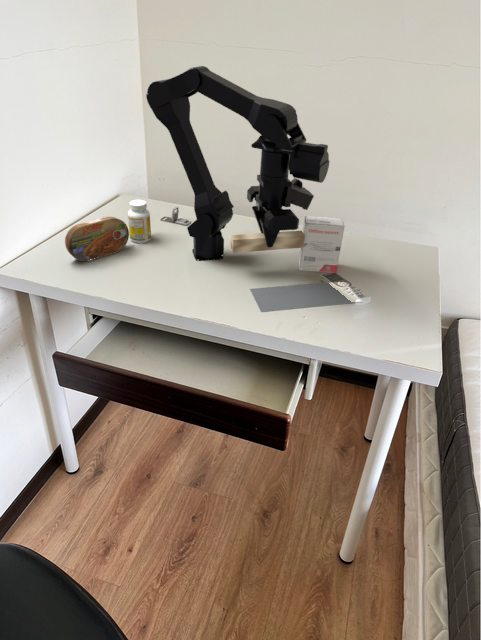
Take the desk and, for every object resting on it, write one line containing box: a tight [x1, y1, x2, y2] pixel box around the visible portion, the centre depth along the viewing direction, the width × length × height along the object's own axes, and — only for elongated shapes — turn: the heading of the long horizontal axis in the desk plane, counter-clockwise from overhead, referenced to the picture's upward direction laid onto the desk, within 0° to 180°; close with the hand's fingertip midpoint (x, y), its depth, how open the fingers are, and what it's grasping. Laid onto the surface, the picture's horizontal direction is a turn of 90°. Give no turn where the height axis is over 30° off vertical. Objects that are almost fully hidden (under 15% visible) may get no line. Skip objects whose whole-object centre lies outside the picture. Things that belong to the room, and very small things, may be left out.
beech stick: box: [230, 230, 305, 254], centre depth 102 cm, size 16×2×3 cm, turn 102°
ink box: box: [298, 215, 346, 274], centre depth 105 cm, size 9×5×12 cm, turn 85°
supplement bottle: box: [127, 199, 152, 244], centre depth 115 cm, size 5×5×10 cm
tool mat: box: [249, 281, 355, 313], centre depth 98 cm, size 22×9×1 cm, turn 104°
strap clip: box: [159, 206, 192, 227], centre depth 127 cm, size 8×3×4 cm, turn 68°
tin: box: [64, 216, 130, 262], centre depth 108 cm, size 15×3×8 cm, turn 131°
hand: (268, 244), depth 102 cm, fingers closed on beech stick, 2 cm apart
